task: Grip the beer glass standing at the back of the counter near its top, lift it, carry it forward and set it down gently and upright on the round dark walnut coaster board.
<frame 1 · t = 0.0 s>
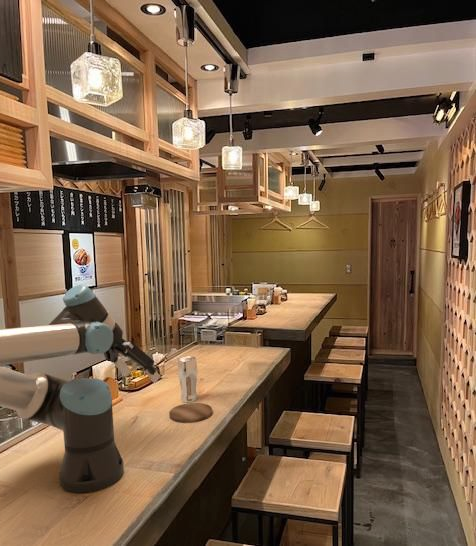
hand: (142, 376, 140), 15 cm above the worktop, tool tilted 35°, fingers open, 13 cm apart
beer glass: (189, 400, 161), on the worktop
walnut coaster board: (190, 414, 147), on the worktop
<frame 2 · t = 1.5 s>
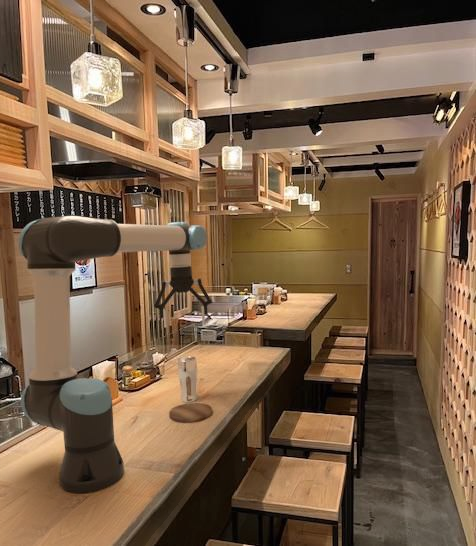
hand: (184, 325, 159), 27 cm above the worktop, tool pointing down, fingers open, 13 cm apart
nothing on the worktop moved.
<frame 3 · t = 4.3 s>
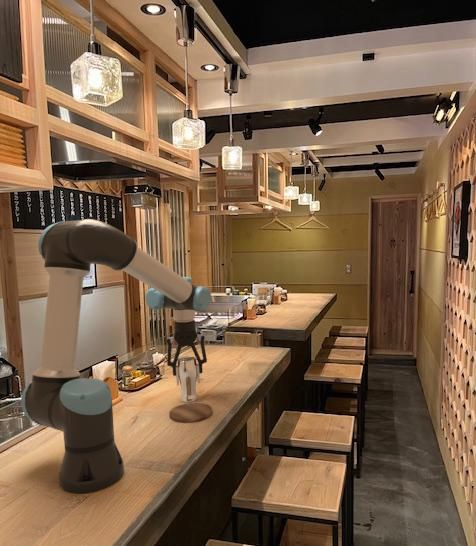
hand: (188, 383, 161), 6 cm above the worktop, tool pointing down, fingers closed on beer glass, 7 cm apart
beer glass: (189, 399, 161), on the worktop, touching gripper
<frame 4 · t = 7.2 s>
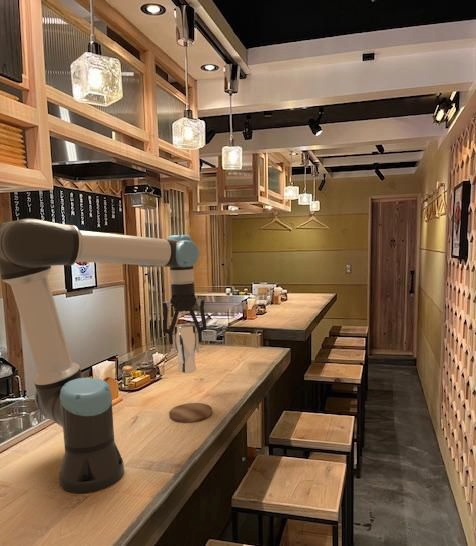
hand: (186, 352, 146), 21 cm above the worktop, tool pointing down, fingers closed on beer glass, 7 cm apart
beer glass: (187, 371, 147), point 14 cm above the worktop, touching gripper
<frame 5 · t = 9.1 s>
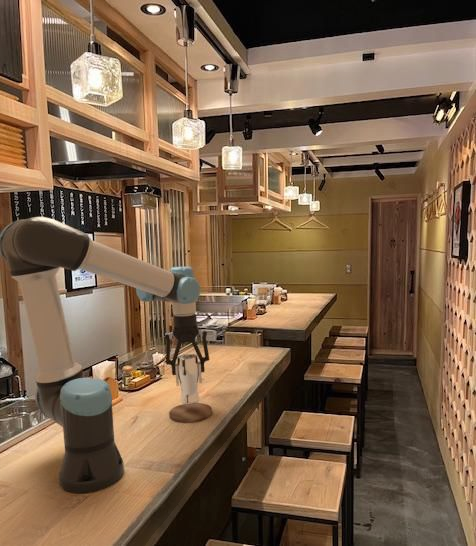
hand: (189, 383, 147), 10 cm above the worktop, tool pointing down, fingers closed on beer glass, 7 cm apart
beer glass: (190, 401, 147), point 4 cm above the worktop, touching gripper
when the fingers open (8 cm above the worktop, at t = 10.4 s): beer glass stays where it is, resting on walnut coaster board.
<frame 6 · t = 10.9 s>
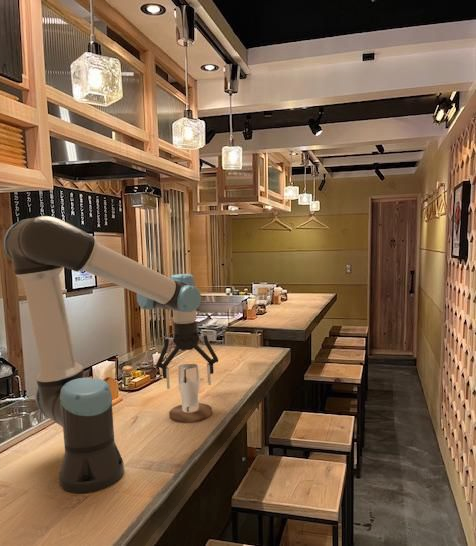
hand: (189, 385, 147), 10 cm above the worktop, tool pointing down, fingers open, 13 cm apart
beer glass: (190, 411, 147), point 1 cm above the worktop, touching walnut coaster board
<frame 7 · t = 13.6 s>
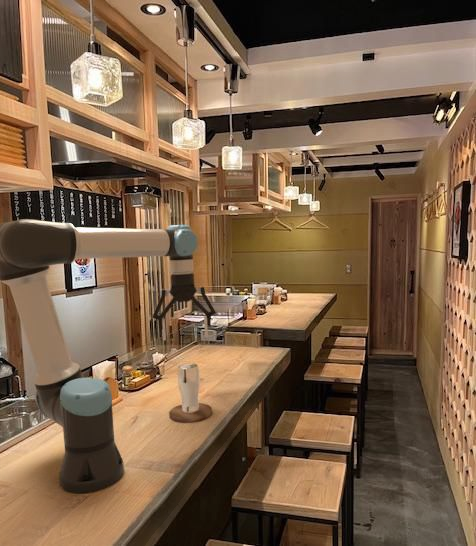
hand: (185, 338, 145), 26 cm above the worktop, tool pointing down, fingers open, 13 cm apart
nothing on the worktop moved.
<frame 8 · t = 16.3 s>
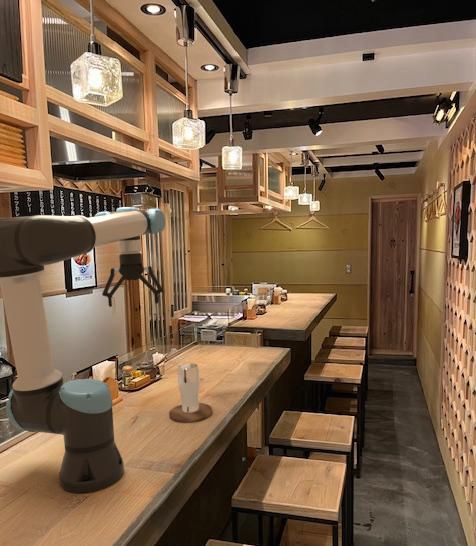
hand: (134, 314, 154), 33 cm above the worktop, tool pointing down, fingers open, 13 cm apart
nothing on the worktop moved.
at the end: beer glass inside the target area on the walnut coaster board (0.0 cm from its centre), point 1.0 cm above the walnut coaster board's base; beer glass tilted 0°; the gripper is holding nothing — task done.
